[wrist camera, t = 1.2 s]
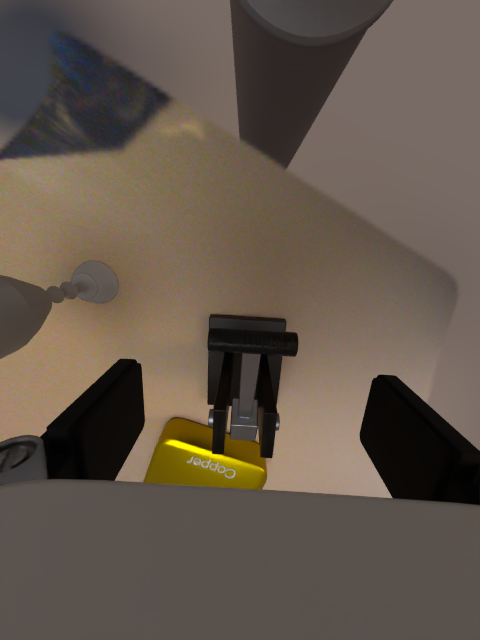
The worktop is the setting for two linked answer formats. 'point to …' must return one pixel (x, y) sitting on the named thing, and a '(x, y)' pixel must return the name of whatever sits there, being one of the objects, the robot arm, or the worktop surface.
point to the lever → (249, 369)
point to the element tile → (204, 459)
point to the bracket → (227, 383)
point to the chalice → (47, 301)
